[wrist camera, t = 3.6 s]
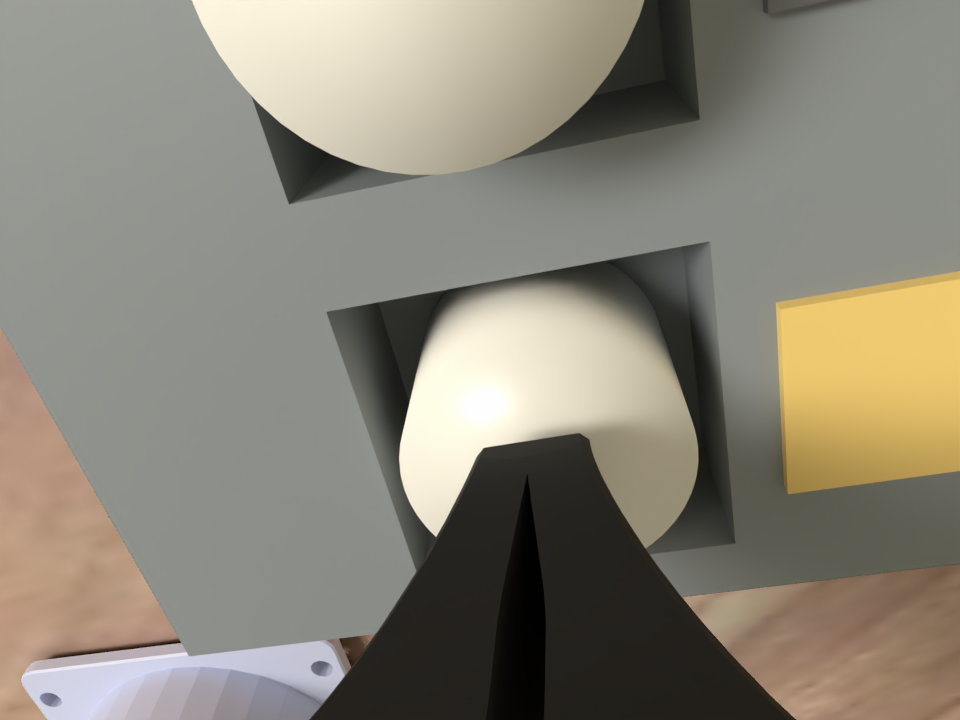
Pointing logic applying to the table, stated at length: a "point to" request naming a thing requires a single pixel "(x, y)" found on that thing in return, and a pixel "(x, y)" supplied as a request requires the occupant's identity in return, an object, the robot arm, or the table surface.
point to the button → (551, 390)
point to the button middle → (420, 72)
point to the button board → (479, 259)
